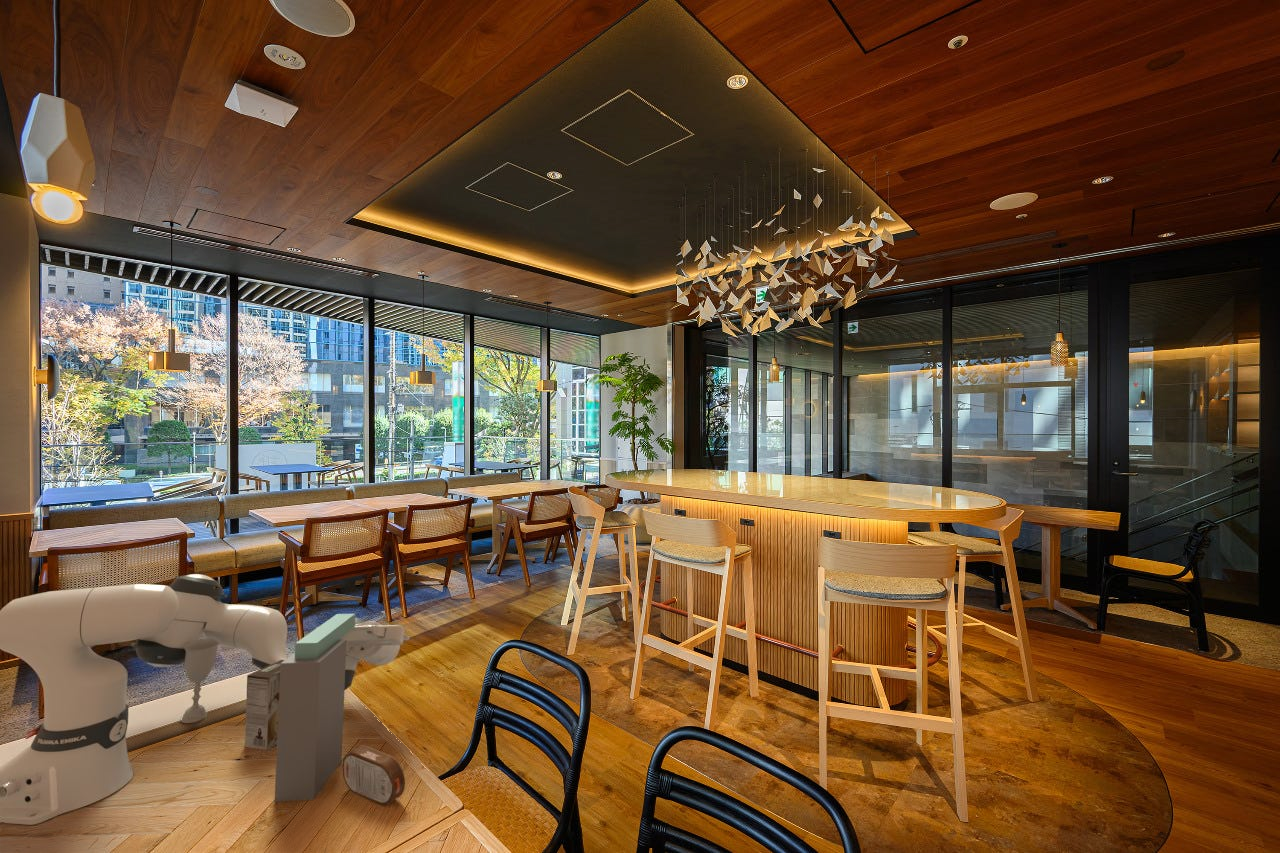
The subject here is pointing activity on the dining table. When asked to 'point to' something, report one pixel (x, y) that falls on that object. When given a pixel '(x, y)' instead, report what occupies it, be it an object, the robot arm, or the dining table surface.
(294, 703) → the stand
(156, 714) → the dining table surface
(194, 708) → the chalice
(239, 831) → the dining table surface
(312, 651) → the mint green bar
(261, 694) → the coffee box
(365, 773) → the tin
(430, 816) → the dining table surface
